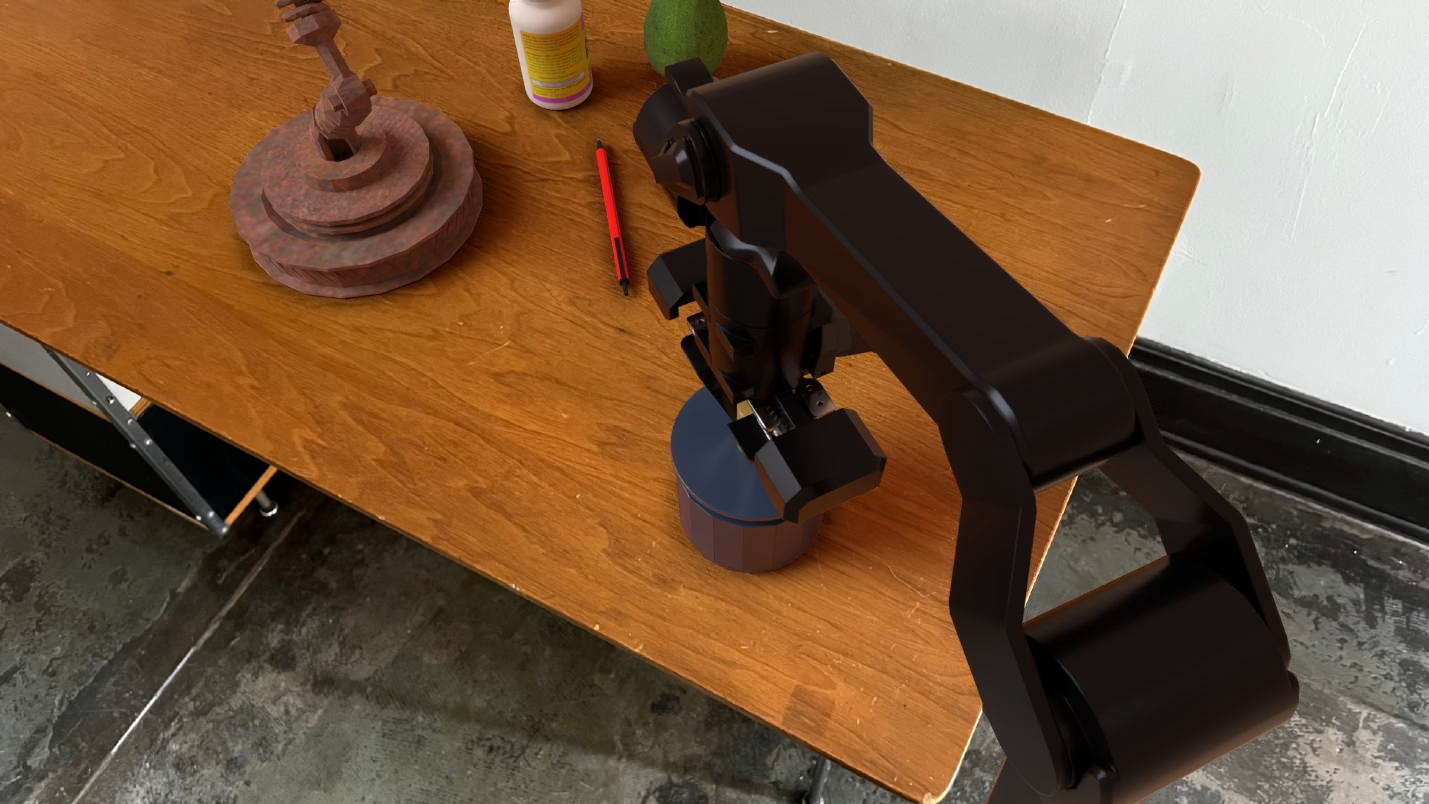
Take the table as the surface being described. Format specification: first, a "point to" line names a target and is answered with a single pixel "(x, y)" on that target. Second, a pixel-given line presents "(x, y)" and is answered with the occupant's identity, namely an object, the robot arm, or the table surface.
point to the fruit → (685, 32)
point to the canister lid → (717, 461)
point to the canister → (744, 537)
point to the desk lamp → (354, 182)
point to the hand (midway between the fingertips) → (755, 440)
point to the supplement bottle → (552, 51)
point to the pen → (612, 218)
